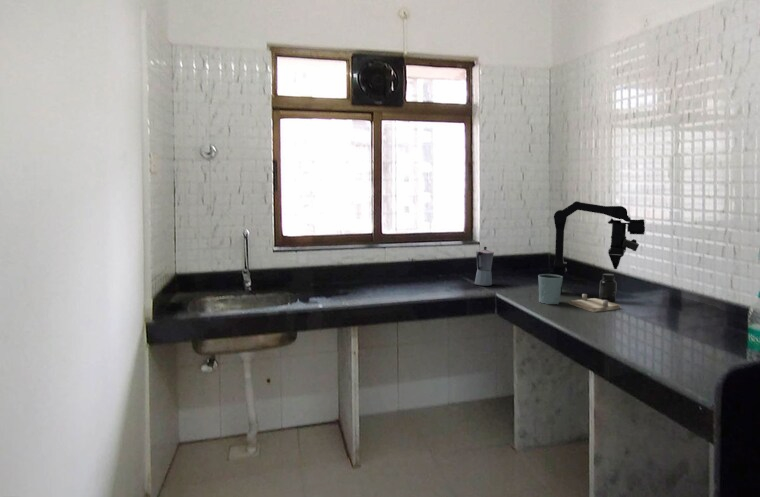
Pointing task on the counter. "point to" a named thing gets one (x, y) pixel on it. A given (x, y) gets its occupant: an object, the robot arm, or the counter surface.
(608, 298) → the supplement bottle
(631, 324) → the counter surface
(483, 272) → the moka pot
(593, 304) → the locating pad
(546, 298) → the teal tapered cup
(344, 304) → the counter surface
